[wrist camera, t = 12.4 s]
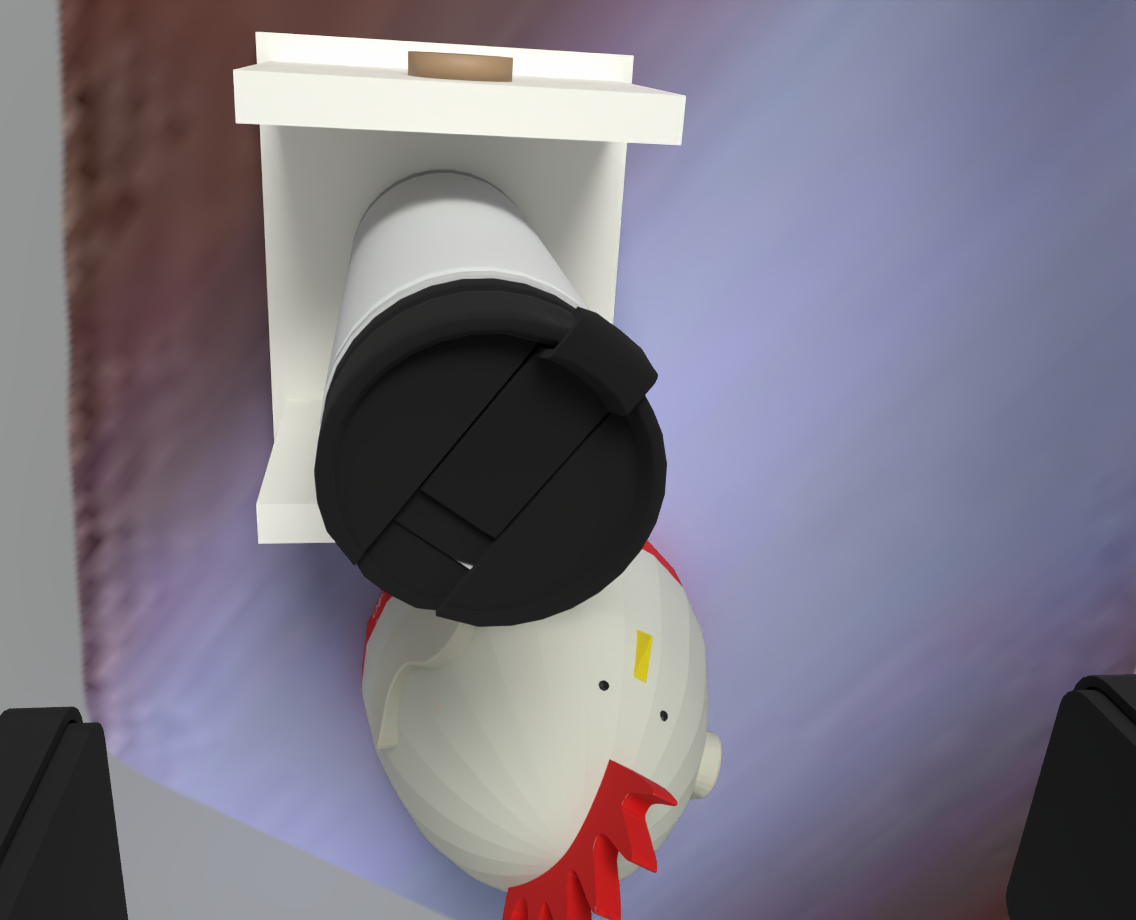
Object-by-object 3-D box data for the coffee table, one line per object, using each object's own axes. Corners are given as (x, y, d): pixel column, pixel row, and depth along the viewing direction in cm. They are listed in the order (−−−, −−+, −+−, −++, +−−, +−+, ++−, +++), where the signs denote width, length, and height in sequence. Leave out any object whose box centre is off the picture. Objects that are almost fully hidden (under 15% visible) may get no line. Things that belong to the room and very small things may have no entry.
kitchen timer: (755, 600, 45) (915, 851, 31) (574, 832, 48) (646, 1152, 34) (480, 443, 40) (524, 654, 27) (300, 710, 43) (256, 1023, 30)
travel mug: (577, 239, 37) (761, 447, 18) (460, 384, 38) (523, 713, 20) (432, 119, 34) (476, 220, 16) (314, 277, 36) (230, 536, 17)
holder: (260, 31, 34) (208, 32, 24) (626, 55, 36) (708, 63, 26) (277, 440, 39) (241, 569, 30) (597, 441, 41) (657, 562, 32)
